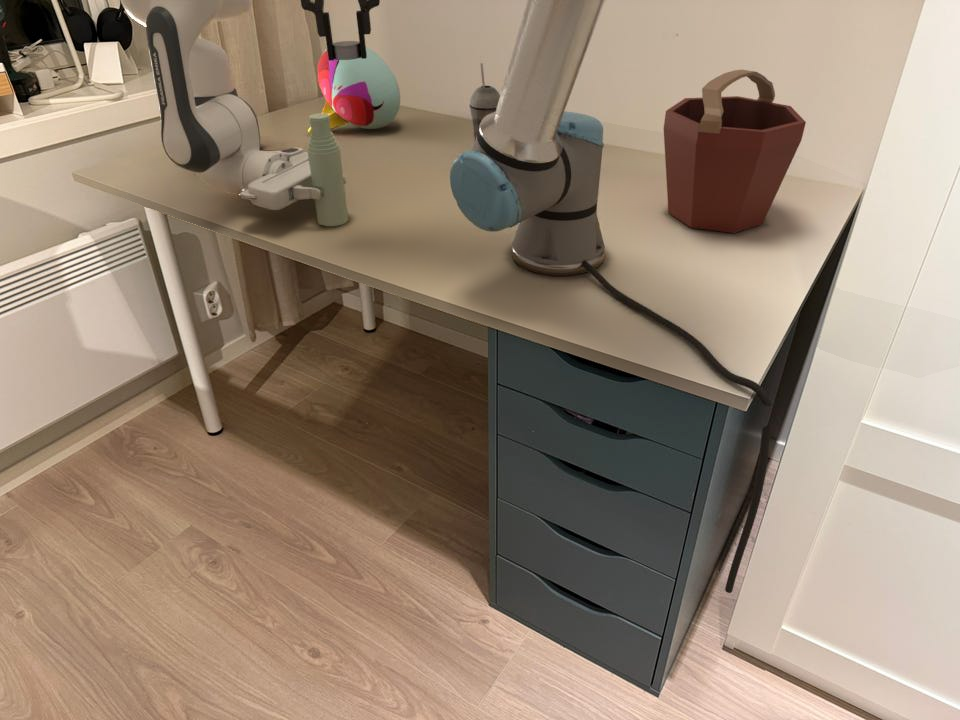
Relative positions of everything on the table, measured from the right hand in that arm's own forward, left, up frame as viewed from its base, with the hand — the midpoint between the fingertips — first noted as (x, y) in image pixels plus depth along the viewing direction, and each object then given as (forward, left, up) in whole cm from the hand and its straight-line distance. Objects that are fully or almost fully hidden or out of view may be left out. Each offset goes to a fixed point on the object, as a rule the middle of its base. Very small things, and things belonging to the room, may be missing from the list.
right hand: (348, 57), depth 112 cm
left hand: (+5, +4, -22) cm, 23 cm away
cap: (0, 0, +2) cm, 2 cm away
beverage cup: (+27, -35, -29) cm, 53 cm away
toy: (+63, -13, -29) cm, 70 cm away
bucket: (-19, -61, -29) cm, 71 cm away
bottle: (+6, +5, -29) cm, 30 cm away
